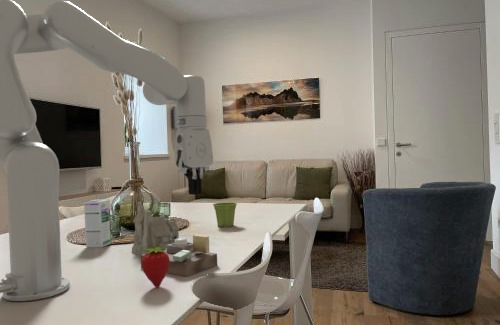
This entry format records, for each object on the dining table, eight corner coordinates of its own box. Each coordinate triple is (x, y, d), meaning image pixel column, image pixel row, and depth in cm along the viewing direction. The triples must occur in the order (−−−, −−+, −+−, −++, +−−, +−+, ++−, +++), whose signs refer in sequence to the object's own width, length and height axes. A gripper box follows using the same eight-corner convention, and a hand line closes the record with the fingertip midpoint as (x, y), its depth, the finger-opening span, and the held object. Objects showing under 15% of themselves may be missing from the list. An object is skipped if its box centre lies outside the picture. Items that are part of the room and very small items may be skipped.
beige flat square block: (206, 253, 101) (205, 237, 101) (193, 251, 104) (192, 235, 104) (209, 252, 102) (208, 236, 102) (196, 250, 105) (196, 234, 105)
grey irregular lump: (143, 259, 111) (144, 203, 112) (124, 250, 124) (125, 201, 125) (195, 253, 120) (195, 202, 120) (172, 245, 133) (173, 199, 134)
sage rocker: (181, 261, 95) (180, 256, 95) (173, 260, 97) (172, 255, 96) (191, 255, 98) (190, 250, 98) (184, 254, 99) (183, 249, 99)
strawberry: (139, 294, 83) (137, 245, 83) (144, 282, 91) (143, 237, 90) (169, 292, 84) (167, 243, 84) (171, 280, 91) (170, 236, 91)
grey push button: (181, 251, 104) (180, 241, 104) (172, 249, 106) (172, 239, 106) (189, 248, 107) (189, 238, 107) (181, 247, 109) (181, 237, 109)
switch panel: (186, 276, 94) (185, 256, 94) (141, 266, 103) (140, 248, 103) (217, 265, 103) (216, 246, 103) (173, 257, 112) (172, 239, 112)
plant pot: (210, 225, 161) (209, 203, 160) (232, 222, 165) (231, 201, 164) (218, 229, 152) (217, 205, 152) (241, 226, 156) (240, 203, 156)
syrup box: (102, 247, 126) (100, 201, 126) (85, 247, 128) (83, 201, 127) (112, 243, 132) (110, 198, 132) (95, 243, 133) (94, 199, 133)
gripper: (181, 122, 98) (185, 198, 99) (221, 123, 110) (224, 191, 111) (160, 124, 103) (164, 197, 103) (200, 125, 115) (203, 190, 115)
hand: (195, 194), depth 107 cm, fingers closed
